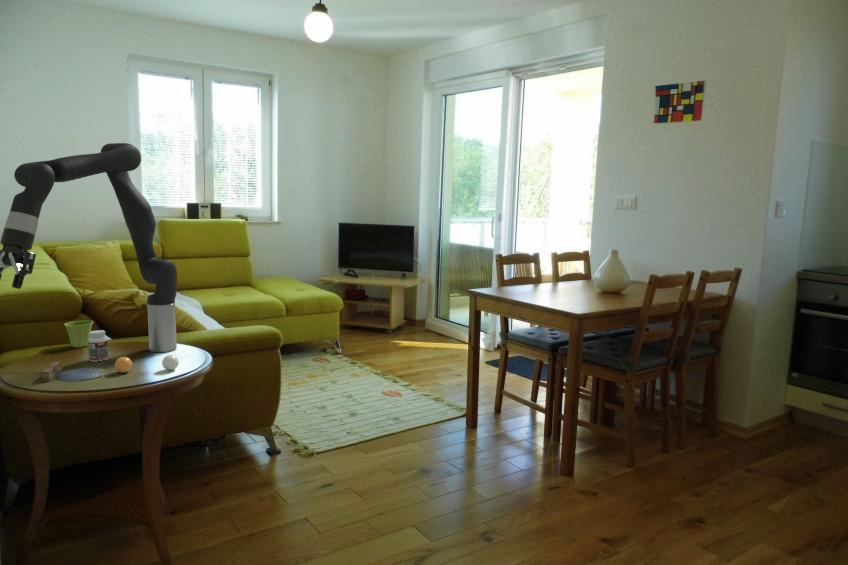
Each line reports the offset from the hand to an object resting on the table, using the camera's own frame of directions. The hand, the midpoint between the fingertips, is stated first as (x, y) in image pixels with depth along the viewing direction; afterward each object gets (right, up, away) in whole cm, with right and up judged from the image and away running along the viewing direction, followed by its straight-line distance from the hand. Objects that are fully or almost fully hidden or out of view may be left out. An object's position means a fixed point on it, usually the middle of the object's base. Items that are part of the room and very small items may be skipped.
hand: (4, 287), depth 171 cm
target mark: (+8, -28, +24) cm, 37 cm away
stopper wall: (0, -28, +21) cm, 35 cm away
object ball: (+20, -25, +26) cm, 41 cm away
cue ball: (+33, -25, +30) cm, 51 cm away
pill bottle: (+5, -25, +40) cm, 48 cm away
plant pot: (-12, -22, +58) cm, 64 cm away
